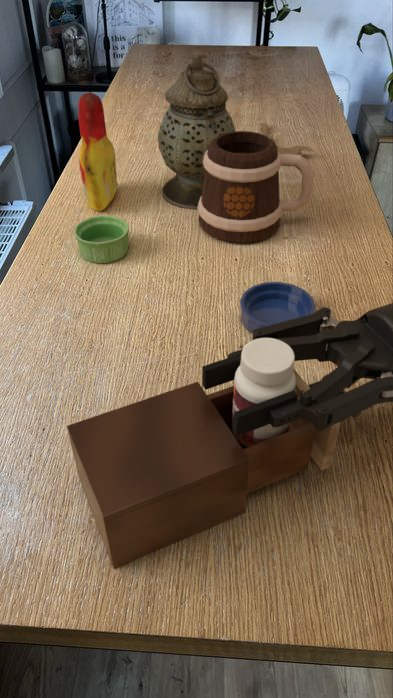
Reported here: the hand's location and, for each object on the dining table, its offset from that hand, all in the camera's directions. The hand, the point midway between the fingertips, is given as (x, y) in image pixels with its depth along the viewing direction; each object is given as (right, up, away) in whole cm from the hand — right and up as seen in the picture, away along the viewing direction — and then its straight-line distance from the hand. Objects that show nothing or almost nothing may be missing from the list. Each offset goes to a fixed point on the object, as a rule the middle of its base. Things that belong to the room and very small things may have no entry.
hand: (219, 400), depth 58 cm
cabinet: (-6, -11, +6) cm, 14 cm away
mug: (+8, +27, +48) cm, 56 cm away
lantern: (-2, +35, +57) cm, 67 cm away
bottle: (-20, +33, +55) cm, 68 cm away
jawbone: (+18, +51, +75) cm, 92 cm away
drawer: (+7, -6, +9) cm, 13 cm away
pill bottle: (+5, -4, +6) cm, 9 cm away
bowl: (+9, +10, +28) cm, 31 cm away
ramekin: (-18, +21, +42) cm, 51 cm away
